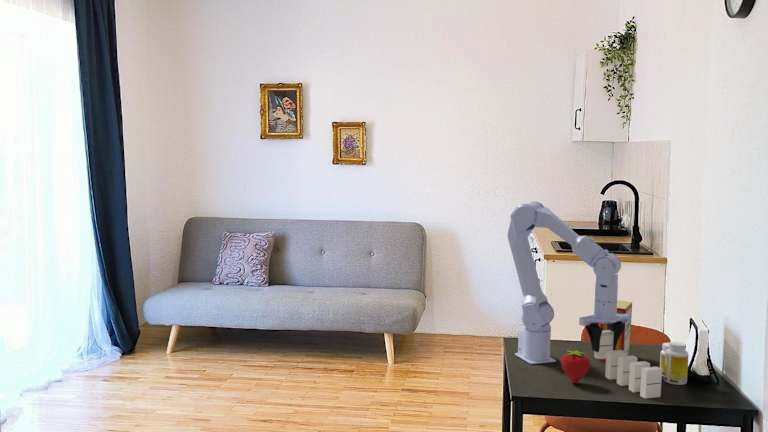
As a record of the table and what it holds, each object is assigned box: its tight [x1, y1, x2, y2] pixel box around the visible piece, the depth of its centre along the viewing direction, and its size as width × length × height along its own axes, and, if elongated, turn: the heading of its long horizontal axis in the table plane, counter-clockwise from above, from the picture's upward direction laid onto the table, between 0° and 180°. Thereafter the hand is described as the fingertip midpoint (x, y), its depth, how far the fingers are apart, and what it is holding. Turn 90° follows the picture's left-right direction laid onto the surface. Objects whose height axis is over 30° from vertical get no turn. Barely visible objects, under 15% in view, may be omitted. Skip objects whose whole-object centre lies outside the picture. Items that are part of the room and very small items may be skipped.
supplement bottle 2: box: [663, 341, 689, 386], centre depth 198 cm, size 6×6×10 cm
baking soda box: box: [598, 300, 633, 363], centre depth 218 cm, size 10×6×16 cm
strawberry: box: [560, 349, 591, 384], centre depth 196 cm, size 6×8×10 cm
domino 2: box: [616, 354, 638, 387], centre depth 197 cm, size 2×4×7 cm, turn 109°
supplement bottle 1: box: [659, 342, 670, 378], centre depth 204 cm, size 5×5×8 cm
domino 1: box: [604, 350, 625, 381], centre depth 201 cm, size 2×4×7 cm, turn 109°
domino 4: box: [639, 366, 663, 399], centre depth 188 cm, size 2×4×7 cm, turn 108°
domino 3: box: [628, 360, 651, 393], centre depth 192 cm, size 2×4×7 cm, turn 108°
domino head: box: [593, 330, 614, 360], centre depth 206 cm, size 2×4×7 cm, turn 109°
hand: (603, 350), depth 206 cm, fingers closed on domino head, 4 cm apart
